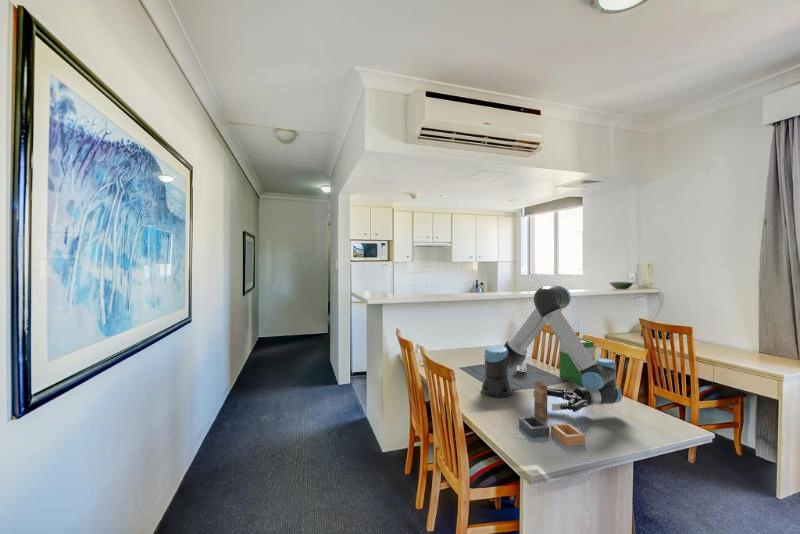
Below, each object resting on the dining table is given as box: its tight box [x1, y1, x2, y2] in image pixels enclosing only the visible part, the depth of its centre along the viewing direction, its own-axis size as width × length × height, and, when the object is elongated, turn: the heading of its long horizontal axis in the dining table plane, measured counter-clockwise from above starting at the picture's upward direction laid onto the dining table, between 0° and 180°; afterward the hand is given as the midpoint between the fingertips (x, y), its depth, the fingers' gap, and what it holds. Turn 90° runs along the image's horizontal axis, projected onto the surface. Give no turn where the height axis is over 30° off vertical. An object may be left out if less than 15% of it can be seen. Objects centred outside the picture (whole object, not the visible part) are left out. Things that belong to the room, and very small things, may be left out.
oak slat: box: [533, 381, 549, 422], centre depth 144 cm, size 3×5×16 cm, turn 9°
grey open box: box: [518, 415, 550, 438], centre depth 133 cm, size 7×9×4 cm
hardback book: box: [559, 337, 595, 387], centre depth 192 cm, size 18×7×24 cm, turn 15°
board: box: [515, 423, 588, 452], centre depth 130 cm, size 24×14×1 cm, turn 66°
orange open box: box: [550, 422, 586, 446], centre depth 127 cm, size 7×9×4 cm
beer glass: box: [516, 353, 528, 372], centre depth 209 cm, size 7×7×15 cm
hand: (542, 400), depth 144 cm, fingers open, 13 cm apart
